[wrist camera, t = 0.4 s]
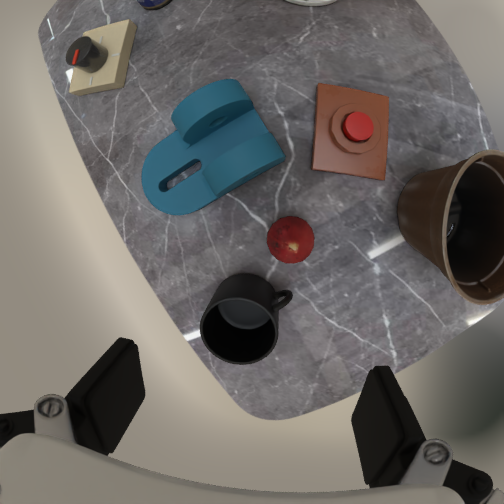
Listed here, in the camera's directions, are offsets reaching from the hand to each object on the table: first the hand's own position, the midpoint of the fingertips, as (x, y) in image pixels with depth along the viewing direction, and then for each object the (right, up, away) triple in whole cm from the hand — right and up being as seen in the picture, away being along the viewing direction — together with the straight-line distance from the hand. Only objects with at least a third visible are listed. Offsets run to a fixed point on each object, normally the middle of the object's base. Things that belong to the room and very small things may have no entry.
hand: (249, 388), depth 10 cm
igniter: (+13, +21, +24) cm, 35 cm away
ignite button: (+13, +21, +21) cm, 32 cm away
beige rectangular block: (-24, +37, +24) cm, 50 cm away
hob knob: (-24, +35, +21) cm, 48 cm away
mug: (0, -2, +31) cm, 31 cm away
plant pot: (+27, +11, +26) cm, 39 cm away
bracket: (-6, +18, +27) cm, 33 cm away
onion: (+5, +8, +29) cm, 30 cm away
